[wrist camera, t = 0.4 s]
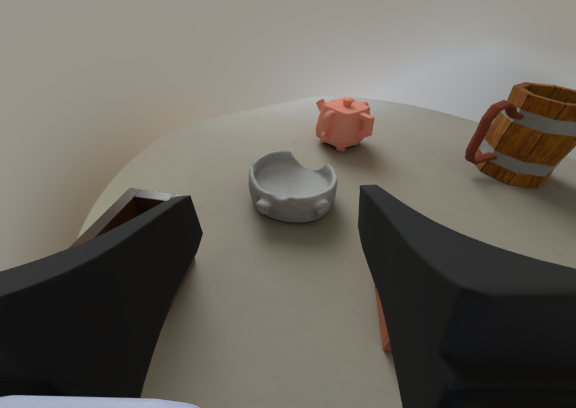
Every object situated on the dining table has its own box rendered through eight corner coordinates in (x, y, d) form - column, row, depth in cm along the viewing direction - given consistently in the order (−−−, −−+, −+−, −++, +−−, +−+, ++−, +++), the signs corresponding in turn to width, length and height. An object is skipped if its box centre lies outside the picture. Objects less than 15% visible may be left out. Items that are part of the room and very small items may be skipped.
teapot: (313, 128, 64) (318, 87, 58) (362, 133, 63) (372, 92, 57) (310, 151, 55) (316, 105, 49) (367, 157, 54) (380, 111, 48)
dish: (262, 168, 49) (261, 144, 46) (335, 180, 47) (340, 156, 44) (234, 220, 38) (231, 193, 35) (329, 238, 36) (335, 211, 33)
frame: (142, 286, 21) (132, 268, 20) (73, 275, 22) (59, 256, 20) (189, 213, 28) (185, 195, 26) (137, 205, 28) (129, 187, 27)
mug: (506, 150, 60) (553, 82, 51) (564, 185, 50) (636, 108, 41) (433, 155, 57) (467, 82, 47) (479, 194, 47) (536, 111, 37)
